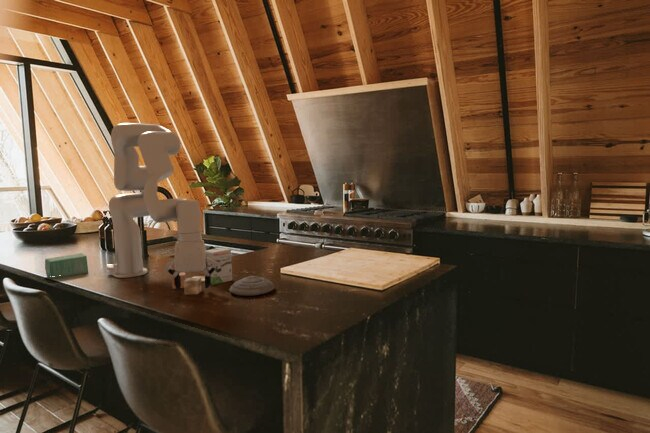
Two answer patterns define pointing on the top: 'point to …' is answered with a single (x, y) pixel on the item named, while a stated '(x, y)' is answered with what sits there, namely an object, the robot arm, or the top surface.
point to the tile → (201, 278)
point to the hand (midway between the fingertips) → (193, 287)
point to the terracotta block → (183, 278)
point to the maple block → (192, 286)
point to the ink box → (220, 265)
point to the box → (66, 266)
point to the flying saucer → (252, 286)
